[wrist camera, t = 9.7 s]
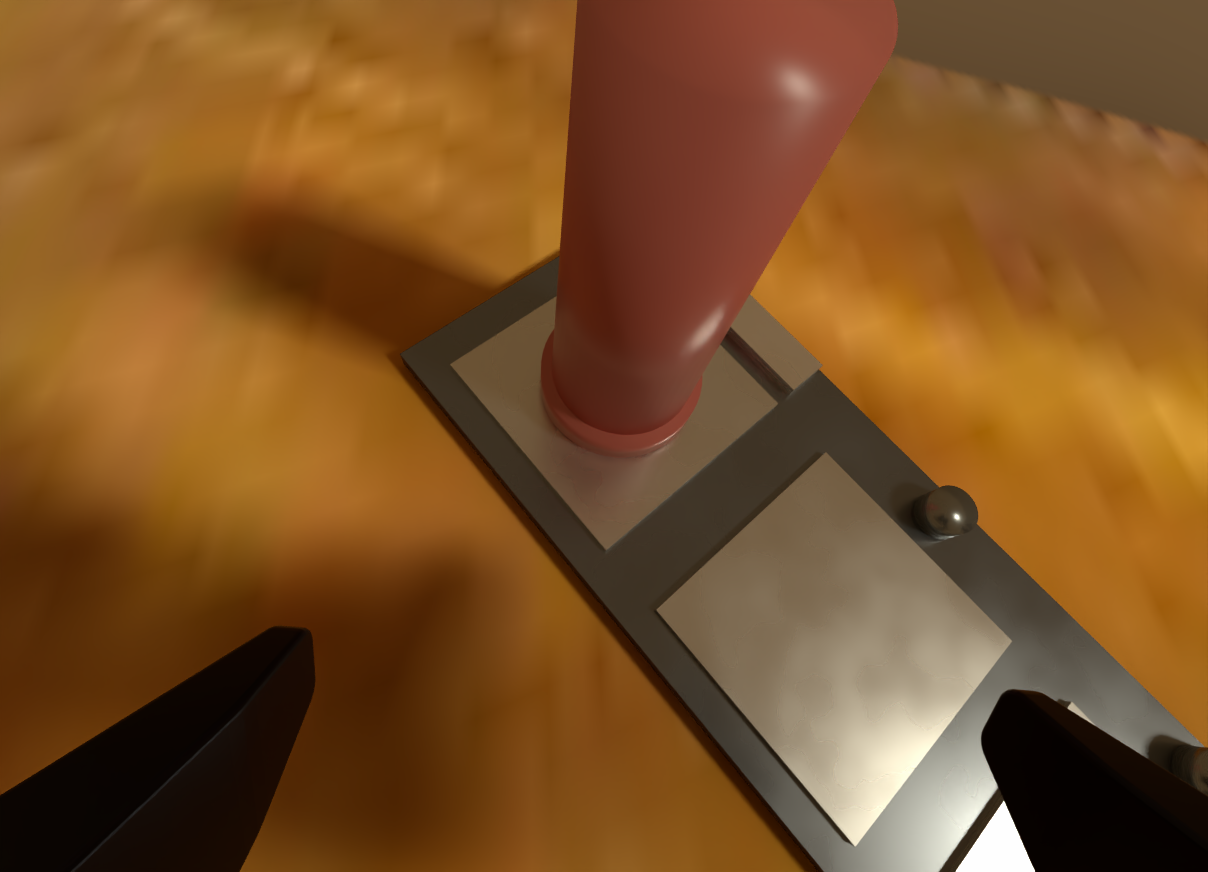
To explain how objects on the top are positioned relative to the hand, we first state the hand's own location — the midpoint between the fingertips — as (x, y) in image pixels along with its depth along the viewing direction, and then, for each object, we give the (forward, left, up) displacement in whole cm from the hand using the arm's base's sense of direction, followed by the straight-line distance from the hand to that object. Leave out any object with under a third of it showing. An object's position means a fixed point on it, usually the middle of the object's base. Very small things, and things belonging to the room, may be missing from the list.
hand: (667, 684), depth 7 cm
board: (+6, -3, -8) cm, 11 cm away
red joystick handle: (+6, +6, -7) cm, 11 cm away
